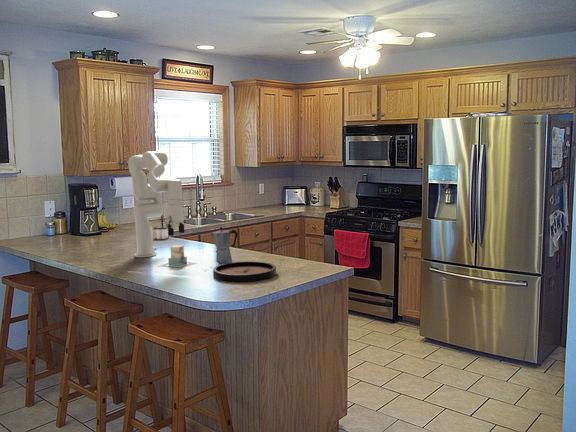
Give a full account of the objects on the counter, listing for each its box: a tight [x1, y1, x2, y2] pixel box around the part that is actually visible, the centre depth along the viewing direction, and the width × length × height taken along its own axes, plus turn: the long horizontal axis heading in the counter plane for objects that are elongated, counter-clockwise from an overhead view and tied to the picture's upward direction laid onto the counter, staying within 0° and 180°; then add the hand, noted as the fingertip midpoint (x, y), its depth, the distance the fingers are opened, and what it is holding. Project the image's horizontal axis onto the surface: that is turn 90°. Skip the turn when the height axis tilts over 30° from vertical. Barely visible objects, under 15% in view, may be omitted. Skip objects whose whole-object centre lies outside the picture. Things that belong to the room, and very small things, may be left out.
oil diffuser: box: [152, 214, 169, 240], centre depth 398 cm, size 26×24×17 cm
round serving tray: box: [212, 260, 277, 284], centre depth 280 cm, size 31×4×31 cm
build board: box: [157, 261, 198, 269], centre depth 302 cm, size 15×16×1 cm
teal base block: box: [168, 255, 188, 266], centre depth 302 cm, size 7×7×4 cm
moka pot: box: [209, 226, 239, 265], centre depth 309 cm, size 10×15×20 cm, turn 111°
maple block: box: [170, 245, 185, 258], centre depth 302 cm, size 5×5×6 cm
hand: (176, 234), depth 300 cm, fingers open, 9 cm apart
